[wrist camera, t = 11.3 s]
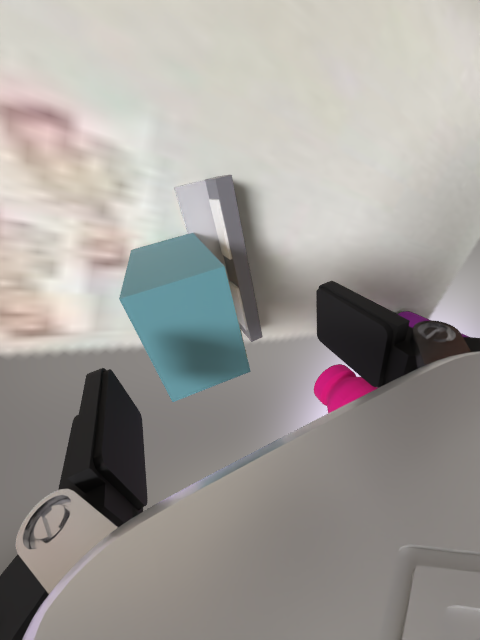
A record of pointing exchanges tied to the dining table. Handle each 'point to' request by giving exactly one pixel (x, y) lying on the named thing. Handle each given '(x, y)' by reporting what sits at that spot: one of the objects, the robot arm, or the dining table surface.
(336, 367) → the pepper mill
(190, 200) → the rail
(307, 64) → the dining table surface
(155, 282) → the tea box
